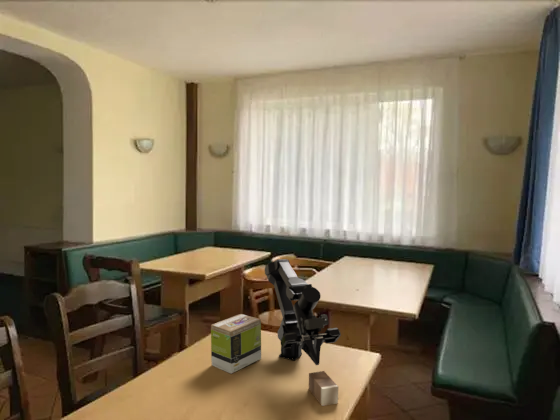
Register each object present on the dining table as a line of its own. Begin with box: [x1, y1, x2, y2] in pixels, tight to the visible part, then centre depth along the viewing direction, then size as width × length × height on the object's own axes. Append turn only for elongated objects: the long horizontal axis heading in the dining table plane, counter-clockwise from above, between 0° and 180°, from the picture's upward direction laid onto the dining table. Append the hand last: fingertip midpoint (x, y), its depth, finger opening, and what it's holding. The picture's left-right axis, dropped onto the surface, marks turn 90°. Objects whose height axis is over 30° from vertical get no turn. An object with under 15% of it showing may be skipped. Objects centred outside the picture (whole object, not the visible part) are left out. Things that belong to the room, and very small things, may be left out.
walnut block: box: [308, 370, 339, 407], centre depth 127 cm, size 5×5×10 cm
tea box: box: [210, 313, 262, 374], centre depth 147 cm, size 15×10×15 cm, turn 141°
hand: (317, 364), depth 131 cm, fingers closed
